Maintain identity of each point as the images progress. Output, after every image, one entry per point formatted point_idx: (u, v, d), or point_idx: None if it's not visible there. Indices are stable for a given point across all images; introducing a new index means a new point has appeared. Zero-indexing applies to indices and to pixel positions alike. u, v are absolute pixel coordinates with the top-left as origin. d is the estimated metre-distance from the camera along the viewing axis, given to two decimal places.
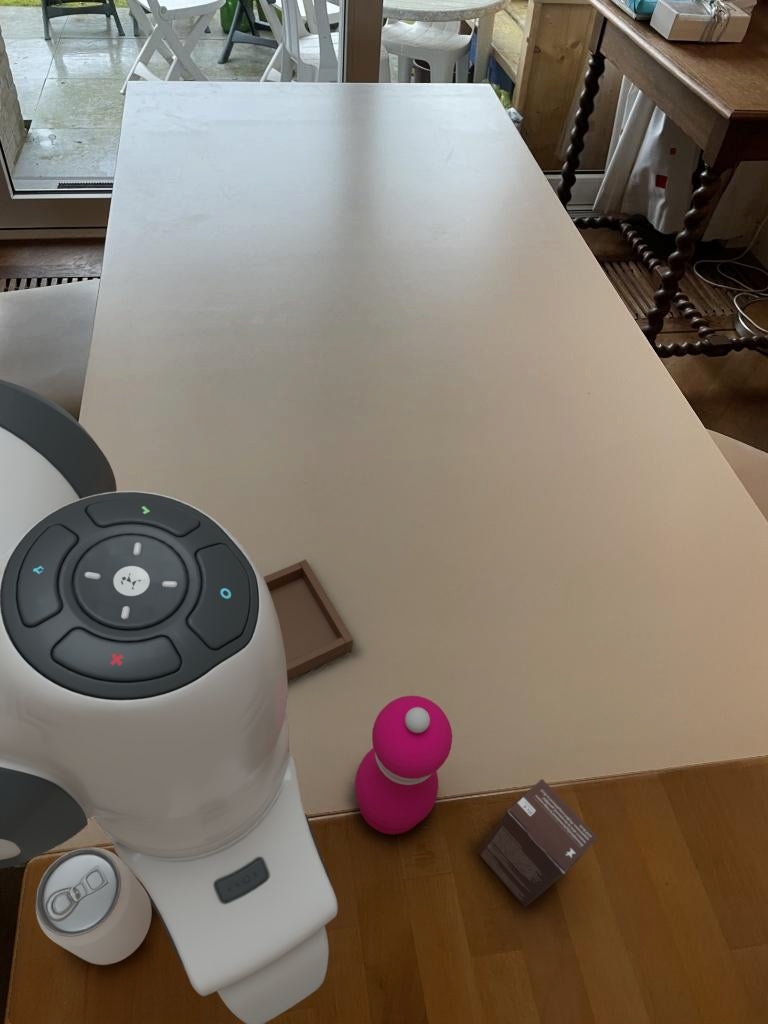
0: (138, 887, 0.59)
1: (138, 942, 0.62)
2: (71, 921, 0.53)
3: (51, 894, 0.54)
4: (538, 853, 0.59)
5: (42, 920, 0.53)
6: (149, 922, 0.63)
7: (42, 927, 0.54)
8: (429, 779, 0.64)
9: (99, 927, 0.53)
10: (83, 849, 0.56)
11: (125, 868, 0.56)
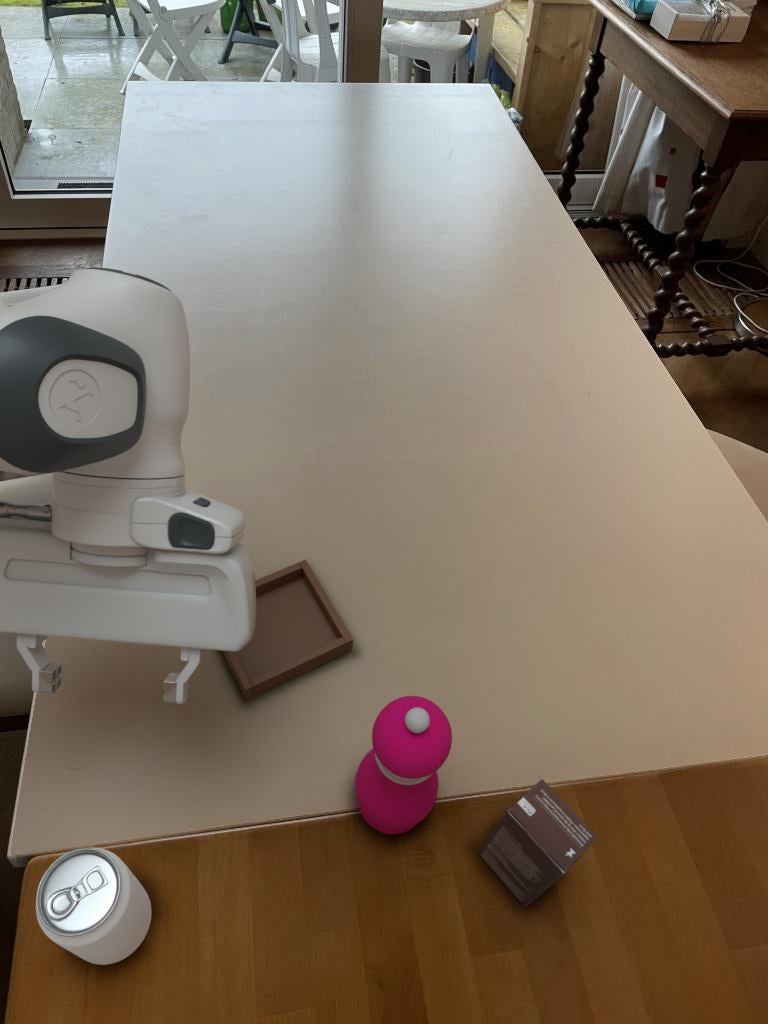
0: (138, 887, 0.59)
1: (138, 942, 0.62)
2: (71, 921, 0.53)
3: (51, 894, 0.54)
4: (538, 853, 0.59)
5: (42, 920, 0.53)
6: (149, 922, 0.63)
7: (42, 927, 0.54)
8: (429, 779, 0.64)
9: (99, 927, 0.53)
10: (83, 849, 0.56)
11: (125, 868, 0.56)
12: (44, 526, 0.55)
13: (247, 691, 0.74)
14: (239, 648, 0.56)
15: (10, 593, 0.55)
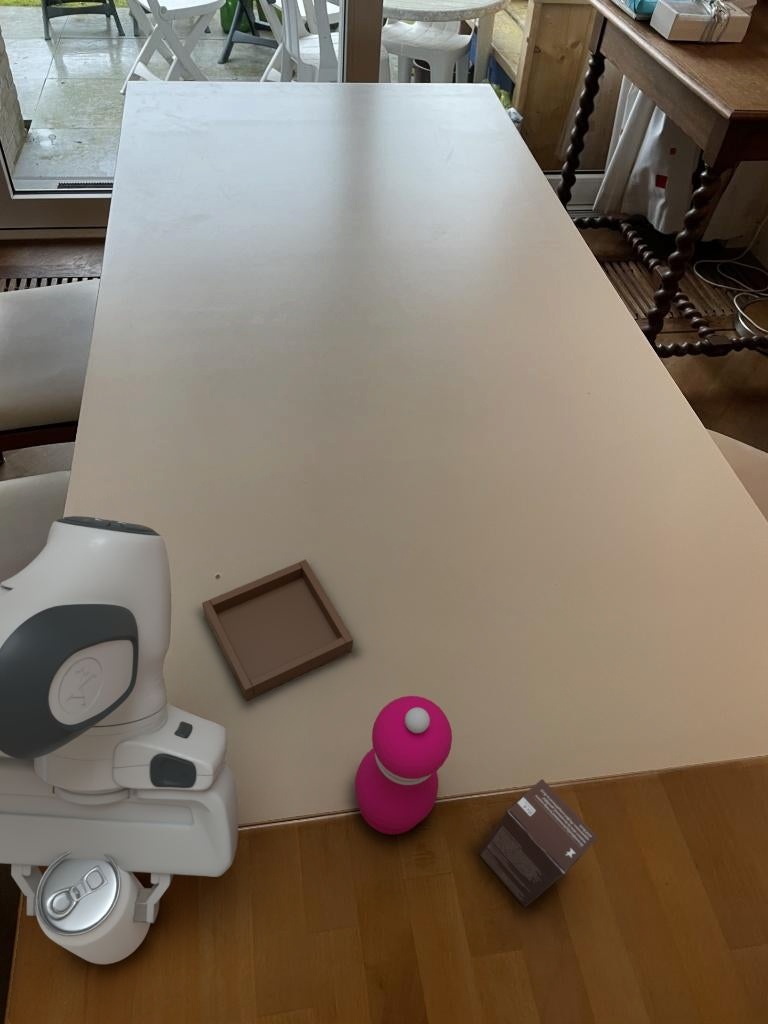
0: (138, 887, 0.59)
1: (138, 942, 0.62)
2: (71, 921, 0.53)
3: (51, 894, 0.54)
4: (538, 853, 0.59)
5: (42, 920, 0.53)
6: None
7: (42, 927, 0.54)
8: (429, 779, 0.64)
9: (99, 927, 0.53)
10: None
11: None
12: None
13: (247, 691, 0.74)
14: (221, 873, 0.56)
15: None
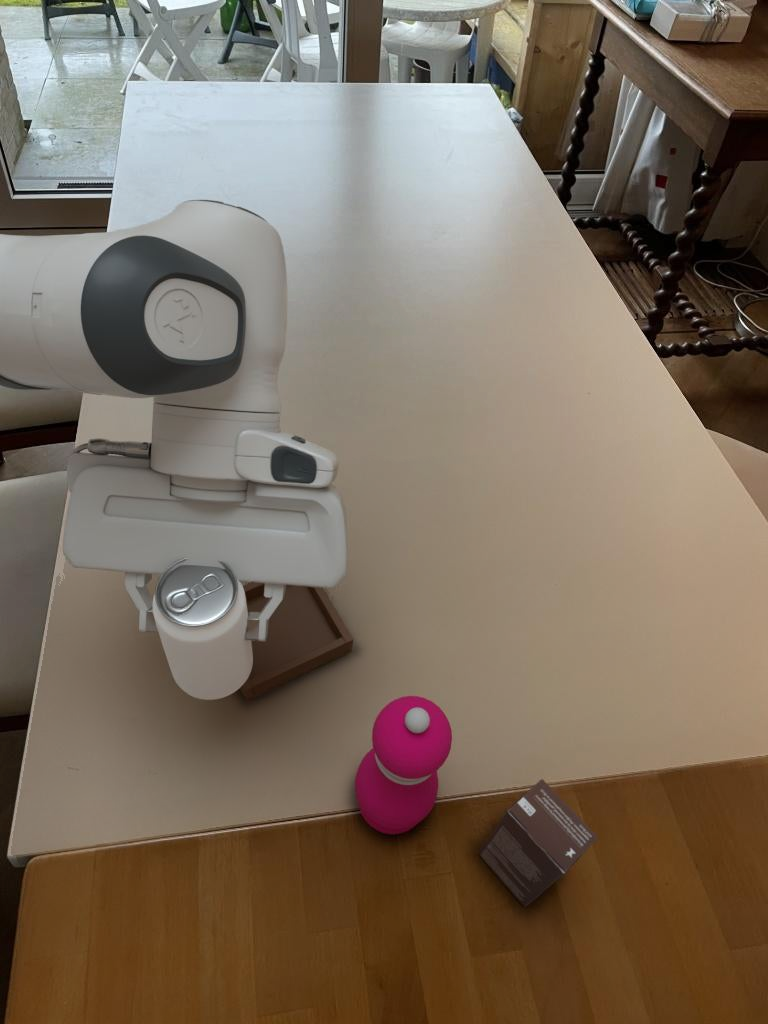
0: None
1: (243, 678, 0.61)
2: (191, 615, 0.53)
3: (169, 593, 0.54)
4: (538, 853, 0.59)
5: (163, 612, 0.53)
6: (252, 663, 0.63)
7: (161, 624, 0.53)
8: (429, 779, 0.64)
9: (219, 622, 0.53)
10: None
11: None
12: (141, 464, 0.55)
13: (247, 691, 0.74)
14: (336, 584, 0.56)
15: (110, 529, 0.55)
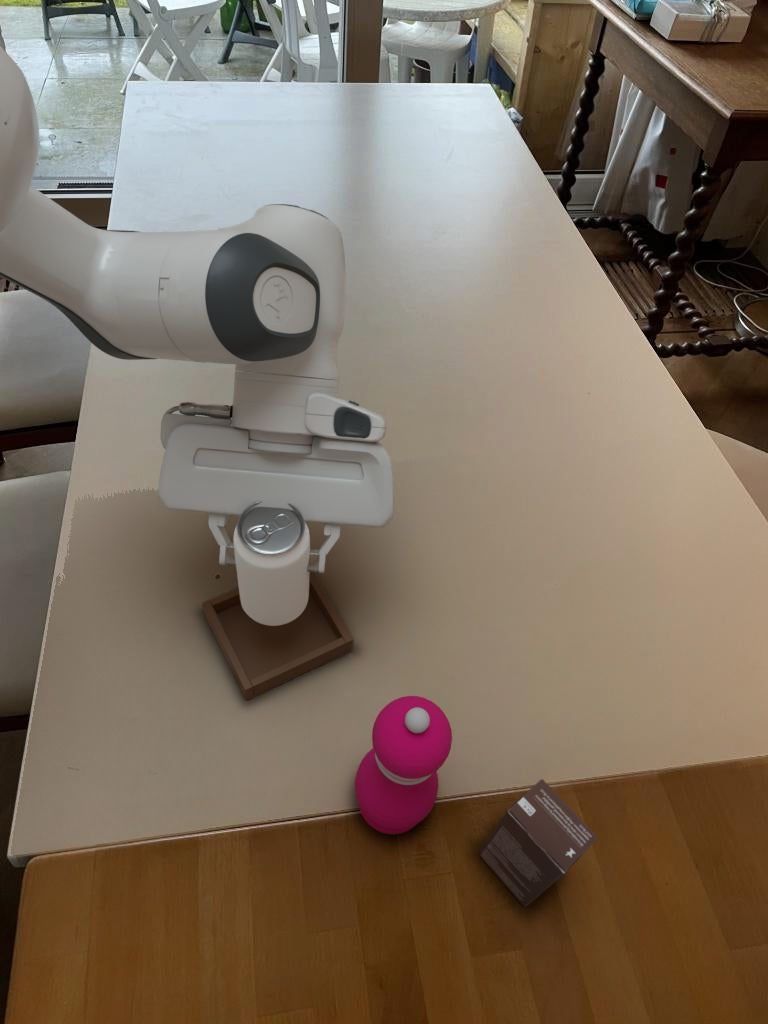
0: None
1: (302, 607, 0.73)
2: (267, 546, 0.64)
3: (248, 528, 0.65)
4: (538, 853, 0.59)
5: (244, 543, 0.64)
6: (308, 596, 0.74)
7: (242, 553, 0.65)
8: (429, 779, 0.64)
9: (290, 552, 0.64)
10: None
11: None
12: (223, 423, 0.67)
13: (247, 691, 0.74)
14: (384, 524, 0.67)
15: (197, 477, 0.66)
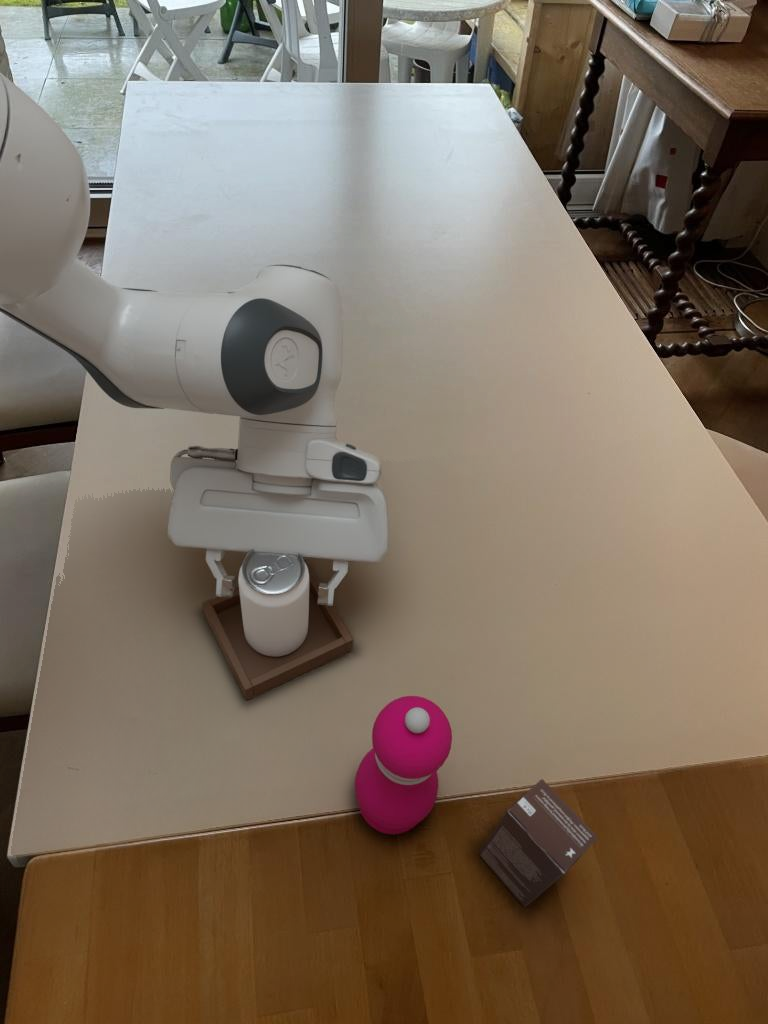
0: None
1: (301, 639, 0.78)
2: (270, 586, 0.69)
3: (252, 569, 0.70)
4: (538, 853, 0.59)
5: (249, 584, 0.69)
6: (307, 629, 0.79)
7: (246, 593, 0.70)
8: (429, 779, 0.64)
9: (291, 592, 0.70)
10: None
11: None
12: (229, 465, 0.71)
13: (247, 691, 0.74)
14: (379, 560, 0.72)
15: (205, 516, 0.71)
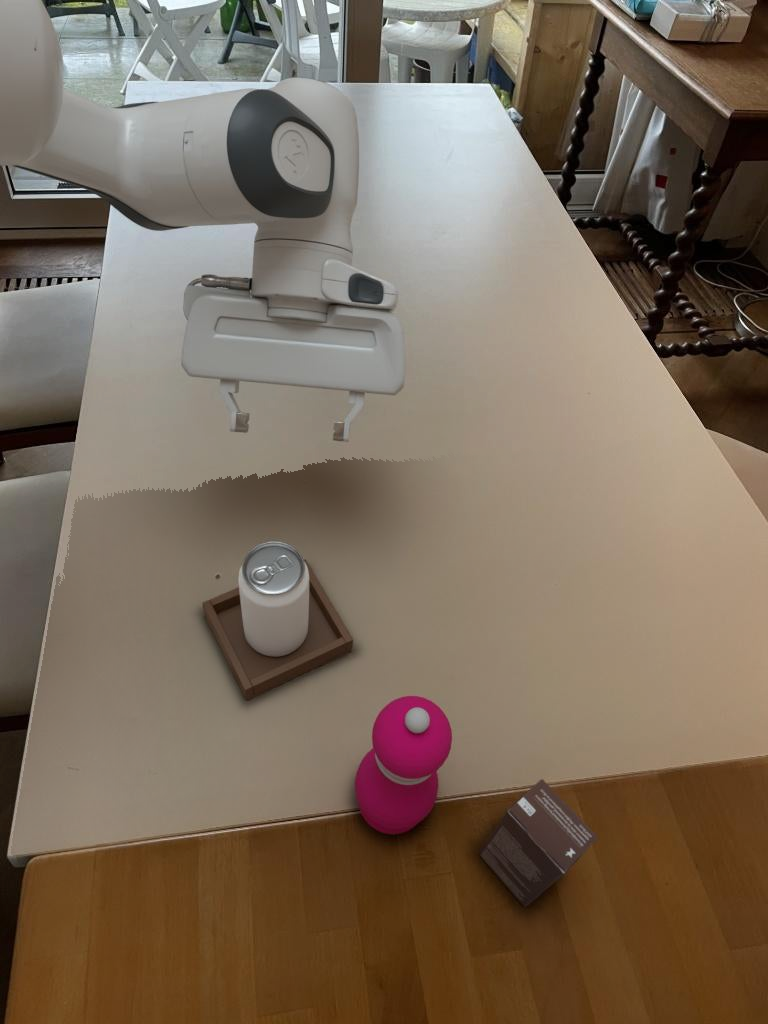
0: None
1: (301, 639, 0.78)
2: (270, 586, 0.69)
3: (252, 569, 0.70)
4: (538, 853, 0.59)
5: (249, 584, 0.69)
6: (307, 629, 0.79)
7: (246, 593, 0.70)
8: (429, 779, 0.64)
9: (291, 592, 0.70)
10: (273, 542, 0.72)
11: None
12: (243, 294, 0.70)
13: (247, 691, 0.74)
14: (396, 391, 0.71)
15: (219, 344, 0.69)
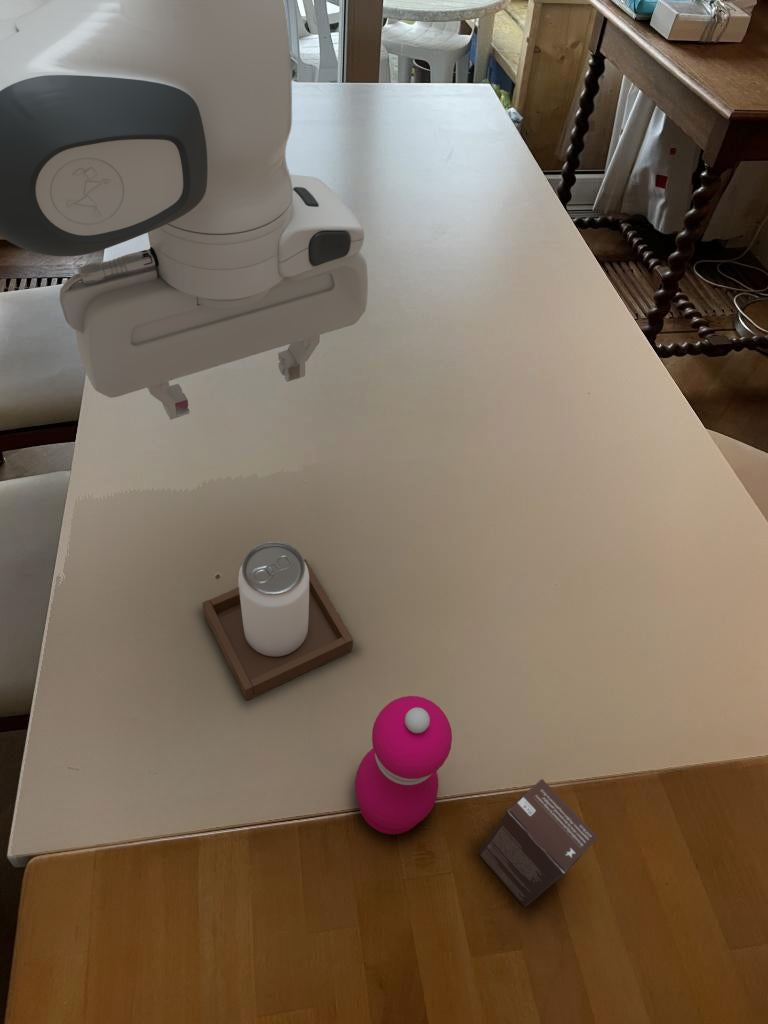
0: None
1: (301, 639, 0.78)
2: (270, 586, 0.69)
3: (252, 570, 0.70)
4: (538, 853, 0.59)
5: (249, 584, 0.69)
6: (307, 629, 0.79)
7: (246, 593, 0.70)
8: (429, 779, 0.64)
9: (291, 592, 0.70)
10: (273, 542, 0.72)
11: None
12: (148, 277, 0.48)
13: (247, 691, 0.74)
14: (357, 320, 0.58)
15: (142, 356, 0.50)
